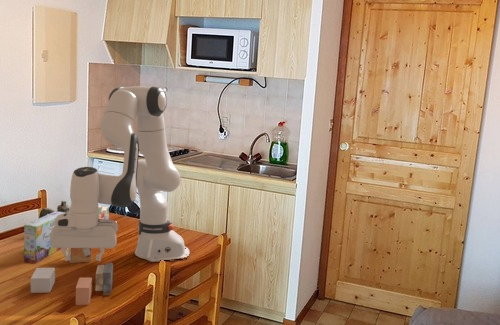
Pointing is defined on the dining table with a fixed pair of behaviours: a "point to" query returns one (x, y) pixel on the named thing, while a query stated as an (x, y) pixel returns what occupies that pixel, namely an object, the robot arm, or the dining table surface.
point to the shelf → (104, 278)
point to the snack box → (39, 238)
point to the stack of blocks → (103, 212)
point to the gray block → (42, 280)
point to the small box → (80, 255)
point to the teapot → (60, 208)
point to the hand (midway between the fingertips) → (83, 260)
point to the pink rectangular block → (83, 291)
